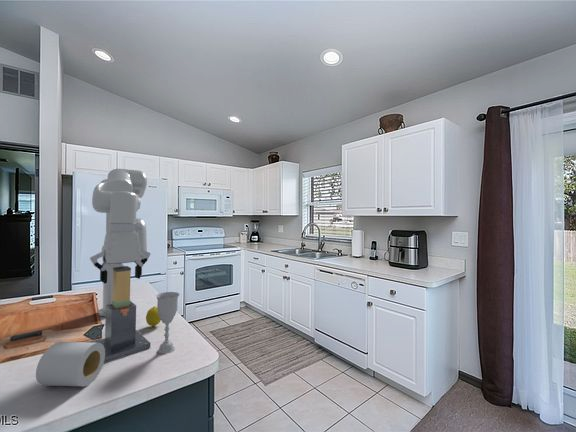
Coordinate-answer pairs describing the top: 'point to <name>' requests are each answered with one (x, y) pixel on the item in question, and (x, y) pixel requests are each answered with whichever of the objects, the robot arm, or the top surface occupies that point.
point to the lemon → (153, 317)
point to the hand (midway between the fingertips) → (121, 280)
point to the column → (121, 287)
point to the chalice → (167, 316)
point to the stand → (121, 333)
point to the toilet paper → (70, 364)
